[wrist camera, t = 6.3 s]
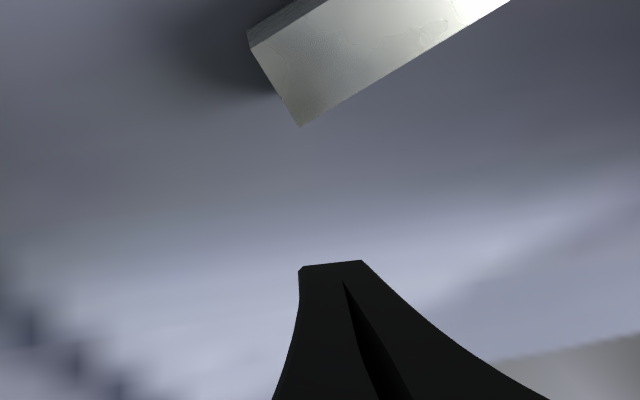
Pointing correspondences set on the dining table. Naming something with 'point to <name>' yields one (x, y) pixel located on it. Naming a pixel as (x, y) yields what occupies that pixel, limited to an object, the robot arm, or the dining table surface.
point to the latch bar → (350, 44)
